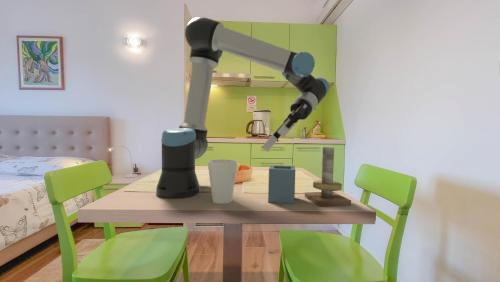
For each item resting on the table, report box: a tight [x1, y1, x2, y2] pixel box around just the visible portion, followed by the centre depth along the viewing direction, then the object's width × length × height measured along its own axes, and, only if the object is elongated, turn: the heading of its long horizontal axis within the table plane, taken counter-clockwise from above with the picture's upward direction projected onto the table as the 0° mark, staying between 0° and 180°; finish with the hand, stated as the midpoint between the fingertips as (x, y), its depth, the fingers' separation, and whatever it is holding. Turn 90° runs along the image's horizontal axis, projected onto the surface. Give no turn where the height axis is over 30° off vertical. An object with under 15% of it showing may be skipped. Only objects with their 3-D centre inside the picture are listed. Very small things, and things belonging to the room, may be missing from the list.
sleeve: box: [267, 164, 296, 205], centre depth 81 cm, size 8×8×11 cm
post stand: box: [304, 146, 352, 207], centre depth 80 cm, size 11×11×18 cm
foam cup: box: [207, 159, 238, 205], centre depth 78 cm, size 10×9×13 cm
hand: (272, 142), depth 80 cm, fingers open, 13 cm apart
